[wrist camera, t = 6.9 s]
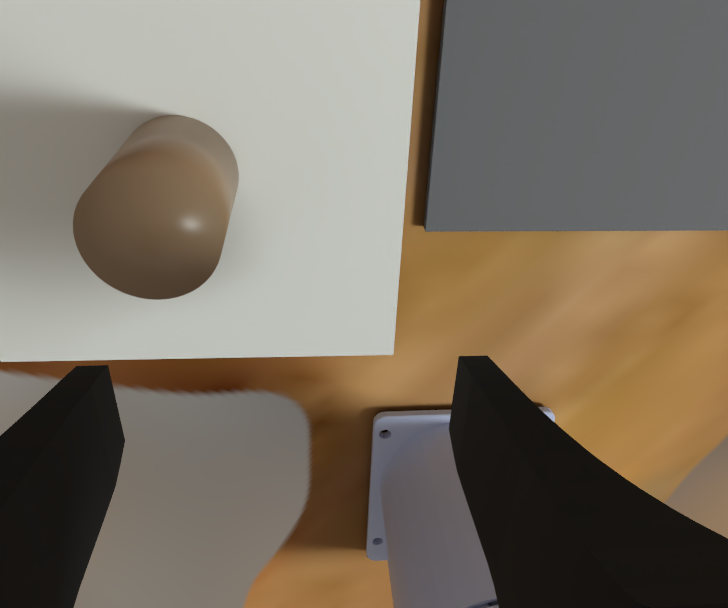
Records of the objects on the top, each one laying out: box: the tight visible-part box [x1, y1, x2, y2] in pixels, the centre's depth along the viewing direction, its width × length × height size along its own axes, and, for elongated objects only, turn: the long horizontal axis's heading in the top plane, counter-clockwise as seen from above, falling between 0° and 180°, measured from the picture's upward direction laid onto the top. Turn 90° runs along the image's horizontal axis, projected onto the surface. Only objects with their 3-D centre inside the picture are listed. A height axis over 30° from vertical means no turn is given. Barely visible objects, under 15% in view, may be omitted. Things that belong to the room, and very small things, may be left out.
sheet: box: [0, 0, 420, 362], centre depth 15 cm, size 12×12×4 cm
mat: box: [424, 0, 728, 231], centre depth 20 cm, size 13×13×1 cm
